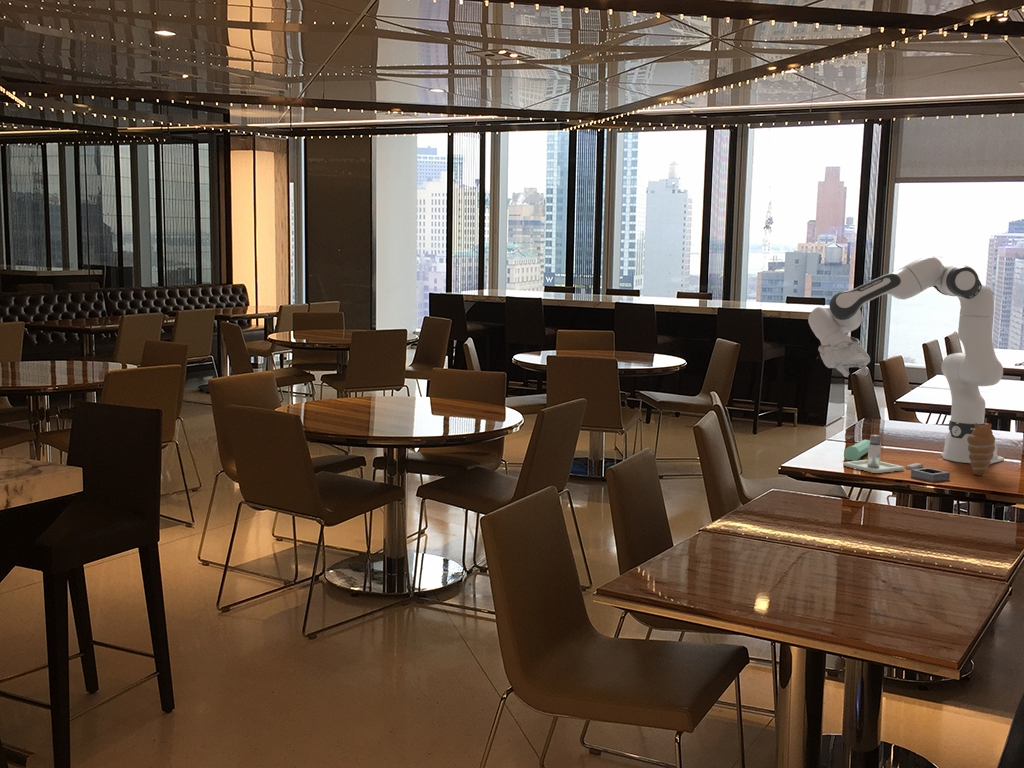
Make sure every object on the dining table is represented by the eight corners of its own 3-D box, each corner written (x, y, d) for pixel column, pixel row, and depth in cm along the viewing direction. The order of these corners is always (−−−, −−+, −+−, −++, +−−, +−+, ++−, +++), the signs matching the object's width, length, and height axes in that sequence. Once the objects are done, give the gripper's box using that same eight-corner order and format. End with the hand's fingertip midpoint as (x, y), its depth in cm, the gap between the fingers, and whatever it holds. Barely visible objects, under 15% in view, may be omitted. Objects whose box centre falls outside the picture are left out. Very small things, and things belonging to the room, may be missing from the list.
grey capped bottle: (872, 465, 337) (874, 434, 336) (882, 467, 334) (884, 436, 332) (864, 466, 335) (866, 435, 334) (874, 468, 332) (876, 437, 330)
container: (863, 434, 369) (847, 443, 348) (878, 442, 366) (863, 451, 345) (856, 448, 371) (840, 457, 350) (870, 455, 368) (855, 465, 347)
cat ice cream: (987, 473, 331) (991, 421, 328) (997, 478, 323) (1002, 425, 321) (960, 472, 331) (965, 421, 329) (970, 477, 323) (975, 424, 321)
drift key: (915, 467, 341) (915, 462, 341) (922, 468, 340) (923, 463, 339) (905, 470, 336) (906, 465, 336) (913, 471, 334) (913, 466, 334)
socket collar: (927, 474, 326) (927, 467, 326) (949, 479, 319) (949, 472, 319) (910, 477, 322) (911, 469, 322) (932, 482, 315) (933, 474, 315)
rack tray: (870, 463, 344) (870, 459, 344) (903, 470, 332) (903, 466, 332) (843, 466, 337) (843, 462, 337) (875, 474, 325) (876, 470, 325)
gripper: (821, 339, 343) (841, 370, 336) (861, 338, 353) (881, 368, 346) (811, 351, 347) (830, 381, 340) (850, 350, 357) (870, 379, 350)
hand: (856, 374), depth 343 cm, fingers open, 8 cm apart
